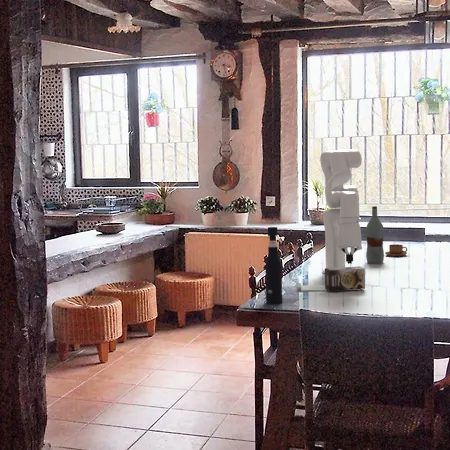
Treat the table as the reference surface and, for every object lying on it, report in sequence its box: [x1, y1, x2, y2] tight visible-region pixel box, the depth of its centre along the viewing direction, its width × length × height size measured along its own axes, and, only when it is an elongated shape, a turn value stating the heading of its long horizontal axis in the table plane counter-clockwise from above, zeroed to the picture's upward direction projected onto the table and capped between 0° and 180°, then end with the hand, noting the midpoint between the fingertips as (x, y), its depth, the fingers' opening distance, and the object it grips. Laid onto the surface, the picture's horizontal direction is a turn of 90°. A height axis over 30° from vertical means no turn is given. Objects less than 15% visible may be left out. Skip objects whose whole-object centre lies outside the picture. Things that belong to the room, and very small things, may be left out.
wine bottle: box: [264, 226, 283, 305], centre depth 276 cm, size 6×6×30 cm
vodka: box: [365, 206, 385, 265], centre depth 369 cm, size 9×9×30 cm
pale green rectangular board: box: [297, 282, 361, 292], centre depth 302 cm, size 10×26×2 cm, turn 85°
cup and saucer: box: [384, 243, 408, 257], centre depth 393 cm, size 12×12×6 cm
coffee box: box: [324, 265, 366, 292], centre depth 297 cm, size 9×6×16 cm
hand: (349, 263), depth 300 cm, fingers closed
